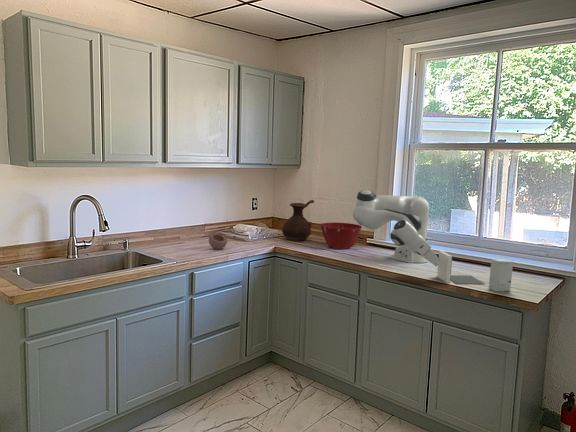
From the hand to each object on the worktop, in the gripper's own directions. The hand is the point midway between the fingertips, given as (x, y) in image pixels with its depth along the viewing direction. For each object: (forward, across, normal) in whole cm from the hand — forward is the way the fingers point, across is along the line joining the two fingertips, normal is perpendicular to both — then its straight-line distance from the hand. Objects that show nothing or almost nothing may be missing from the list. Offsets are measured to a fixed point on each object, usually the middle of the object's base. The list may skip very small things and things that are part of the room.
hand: (436, 264), depth 239 cm
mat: (+16, 0, +5) cm, 17 cm away
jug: (-40, -107, -52) cm, 125 cm away
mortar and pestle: (-78, -68, -90) cm, 137 cm away
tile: (+9, 0, -2) cm, 9 cm away
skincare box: (+24, +17, +12) cm, 32 cm away
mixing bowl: (-20, -81, -31) cm, 89 cm away
